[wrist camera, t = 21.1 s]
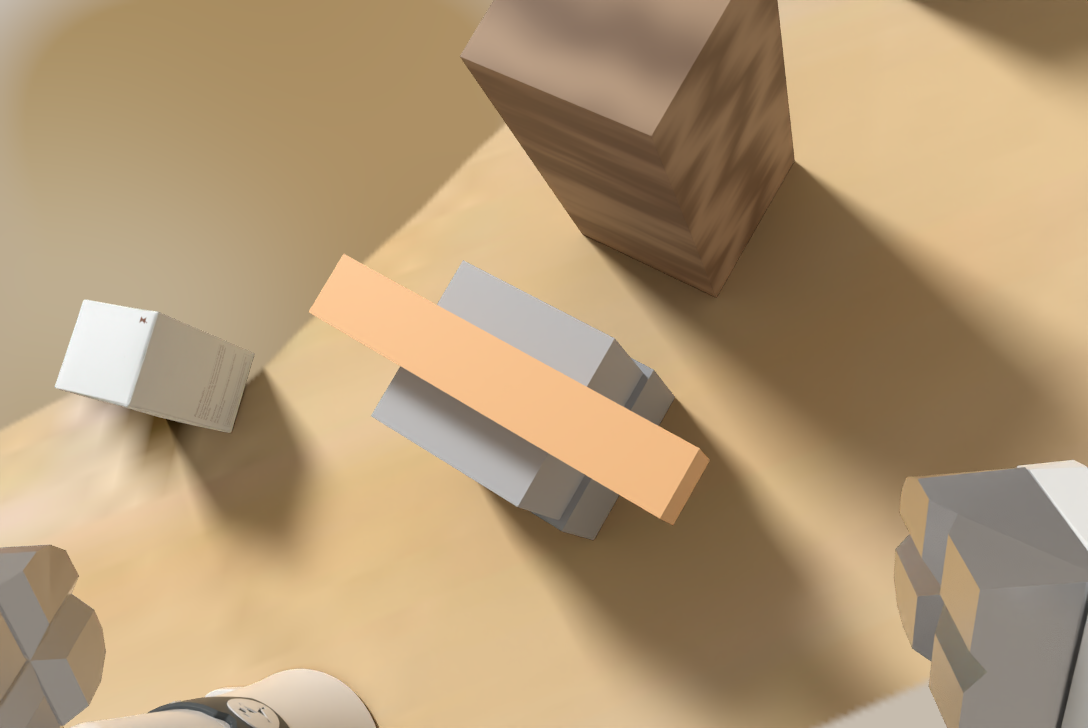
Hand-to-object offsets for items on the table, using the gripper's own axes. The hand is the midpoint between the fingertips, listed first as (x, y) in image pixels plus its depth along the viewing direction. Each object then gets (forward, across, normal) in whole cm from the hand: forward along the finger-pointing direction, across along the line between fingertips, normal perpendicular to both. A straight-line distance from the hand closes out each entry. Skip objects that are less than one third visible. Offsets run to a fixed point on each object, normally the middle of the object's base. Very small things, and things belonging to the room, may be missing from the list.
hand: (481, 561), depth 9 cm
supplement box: (+63, -32, -33) cm, 78 cm away
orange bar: (+40, -4, -22) cm, 46 cm away
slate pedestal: (+53, -2, -33) cm, 63 cm away
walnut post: (+63, +9, -20) cm, 67 cm away
